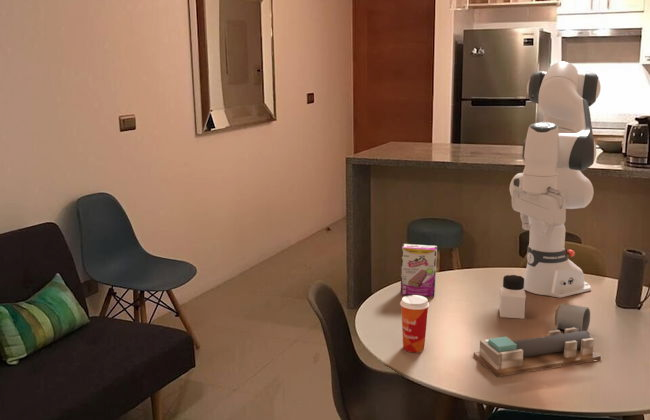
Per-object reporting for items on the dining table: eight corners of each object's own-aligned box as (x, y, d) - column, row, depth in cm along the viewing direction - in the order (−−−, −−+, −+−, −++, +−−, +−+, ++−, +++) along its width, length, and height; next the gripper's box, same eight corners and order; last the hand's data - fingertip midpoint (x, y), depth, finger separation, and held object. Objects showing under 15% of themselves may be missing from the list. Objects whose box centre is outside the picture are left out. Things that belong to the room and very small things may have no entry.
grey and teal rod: (578, 343, 181) (580, 325, 180) (590, 350, 176) (592, 333, 175) (487, 356, 173) (488, 339, 172) (498, 365, 169) (499, 347, 168)
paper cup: (394, 345, 183) (394, 296, 180) (418, 340, 186) (419, 292, 183) (409, 356, 176) (410, 306, 173) (433, 351, 179) (435, 302, 176)
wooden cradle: (571, 341, 185) (572, 324, 183) (600, 359, 173) (602, 341, 172) (473, 355, 176) (474, 338, 175) (497, 376, 165) (498, 358, 164)
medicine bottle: (524, 319, 200) (527, 281, 197) (500, 317, 201) (502, 279, 198) (522, 310, 206) (525, 273, 204) (498, 308, 208) (501, 271, 205)
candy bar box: (400, 295, 219) (401, 247, 215) (401, 290, 224) (402, 243, 220) (434, 298, 217) (436, 249, 213) (435, 292, 222) (437, 244, 218)
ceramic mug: (561, 322, 197) (562, 298, 195) (589, 329, 192) (592, 304, 190) (548, 335, 189) (550, 309, 187) (578, 342, 184) (580, 316, 182)
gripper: (574, 191, 171) (569, 243, 174) (528, 176, 190) (525, 224, 193) (552, 192, 169) (548, 245, 172) (508, 178, 188) (505, 225, 191)
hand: (536, 234), depth 183 cm, fingers open, 8 cm apart
